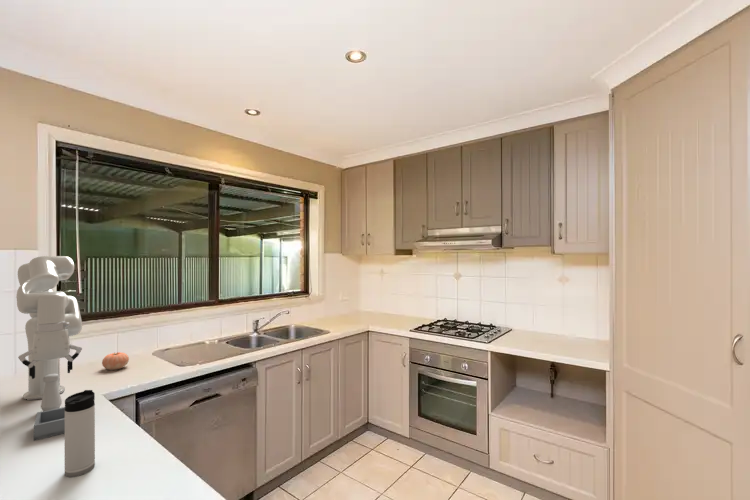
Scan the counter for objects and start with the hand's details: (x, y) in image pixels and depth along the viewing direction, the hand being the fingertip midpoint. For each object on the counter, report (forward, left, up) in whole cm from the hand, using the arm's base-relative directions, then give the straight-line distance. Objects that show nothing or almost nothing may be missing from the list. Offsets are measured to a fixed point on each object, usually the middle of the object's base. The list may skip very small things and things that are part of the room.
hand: (51, 375), depth 134 cm
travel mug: (+52, +8, -13) cm, 55 cm away
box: (+18, +3, -13) cm, 23 cm away
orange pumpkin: (-44, +22, -13) cm, 51 cm away
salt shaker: (-1, 0, -13) cm, 13 cm away
